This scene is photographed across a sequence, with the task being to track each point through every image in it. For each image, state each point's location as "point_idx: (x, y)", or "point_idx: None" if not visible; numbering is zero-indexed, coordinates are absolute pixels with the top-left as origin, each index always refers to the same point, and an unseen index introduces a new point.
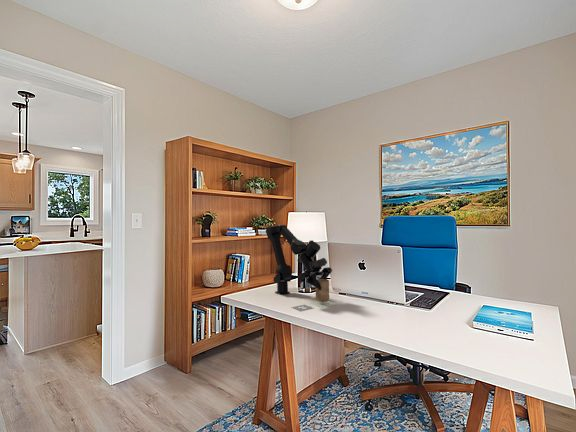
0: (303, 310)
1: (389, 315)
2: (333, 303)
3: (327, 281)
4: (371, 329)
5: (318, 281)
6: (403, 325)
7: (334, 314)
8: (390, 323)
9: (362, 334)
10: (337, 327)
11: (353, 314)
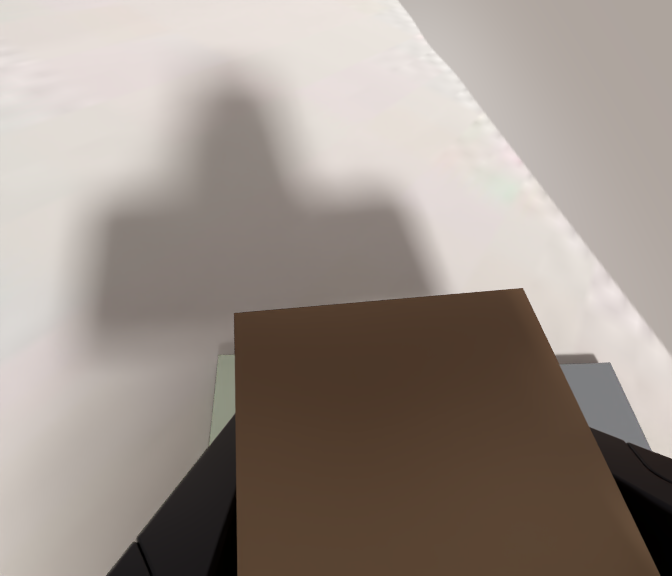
0: (581, 375)
1: (149, 67)
2: (232, 395)
3: (307, 318)
4: (366, 47)
5: (580, 457)
6: (231, 10)
7: (391, 218)
8: (252, 35)
9: (425, 46)
10: (474, 112)
11: (291, 162)
